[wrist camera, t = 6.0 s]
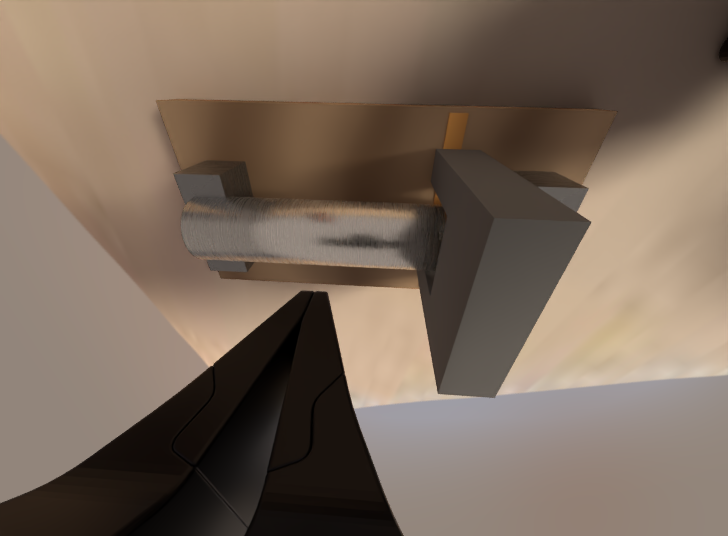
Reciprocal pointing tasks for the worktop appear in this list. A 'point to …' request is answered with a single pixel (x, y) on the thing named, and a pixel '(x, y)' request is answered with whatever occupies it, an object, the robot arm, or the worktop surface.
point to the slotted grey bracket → (490, 269)
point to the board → (371, 155)
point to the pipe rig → (316, 223)
